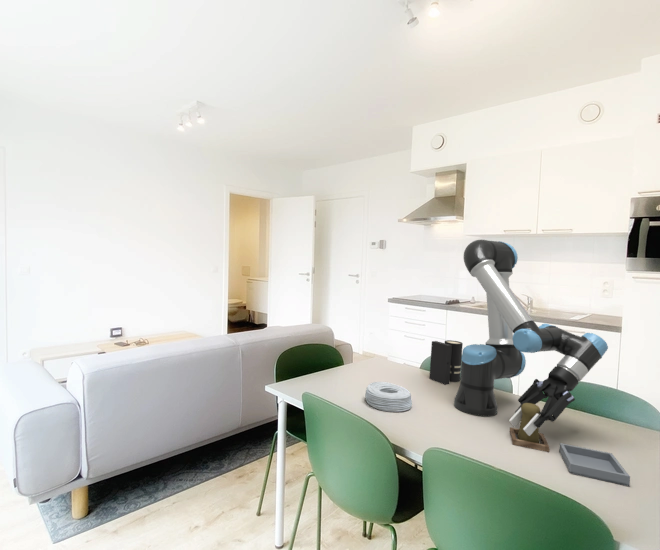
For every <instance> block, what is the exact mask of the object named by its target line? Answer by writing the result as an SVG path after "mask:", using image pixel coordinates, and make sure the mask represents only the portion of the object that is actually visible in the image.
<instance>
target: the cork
mask: <svg viewBox="0 0 660 550" xmlns="http://www.w3.org/2000/svg"><path fill="white" fill-rule="evenodd" d="M521 411H522V413H523V414H522V419H521V421H520V423H519V428H518V429H519V431H518V435H517V437H516V439H519V440H524V441H529V442H534V443H539V444H541V440H540V439H539V433H540V430H539V429H540V427H539V428H538V427H537V428H536V430H535V431H534V432H533V433H532V434H531V435H530V436H529V435H527V433H526V432H525V431H524V430H523V428H524V427H525V426H526V425H527V424H528V423H529V422H530V420H531V419H532V418H533V417H534V416H535V415H536V414H537V413H538V414H539V412H541V409H540V407H539V406H538V405H537V404H532V403H523V405H522V406H521ZM539 415H540V414H539Z"/></svg>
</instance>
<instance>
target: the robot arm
mask: <svg viewBox="0 0 660 550" xmlns="http://www.w3.org/2000/svg"><path fill="white" fill-rule="evenodd" d="M518 260H519V259H518V253H517V250H516V249H515V248H514V246H512V245H511V244H510V243H507V242H505V241H497V240H496V241H494V240H487V239H476V240H473V241H472V242H470V243H469V244H468V245H467V246H466V247H465V250H464V251H463V262H464V265H465V268H466V270H467V271H468V273H469V274H470V276H471V277H473V278H476V280H477V281H478V283H479V284H480V285H481V287H482V289H483V290H484V292H485V293H486V295H485V296H486V305H487V306H486V308H487V323H488V324H487V325H488V326H487V327H488V340H487V341H486V342H485V344H481V343H479V344H478V343H475V344H469V345H466V346H464V347H463V348H462V358H461V359H462V360H461V375H460V381H459V383H460V384H459V387H458V389H457V392H456V394H455V396H454V399H453V400H454V401H453V406H454V407H455V408H456V409H457V410H459V411H461V412H463V413H466V414H469V415H473V416H479V417H480V416H481V417H493V416H495V415H497V414H498V403H497V400H496V394H495V391H494V386H495V380H501V379H511V378H514V377H518V376H520V375H521V374H522V373H523V372H524V371H525V368H526V365H527V363H526V362H527V360H526V357H525V354H524V353H527V354H529V353H530V354H535V353H539V352H551V351H552V352H553V351H554V352H557V353H559V354H562V355H564V356H563V357H562V358H561V359H560V360H559V361H558V363H556V366H554V367H553V368H552V369H551V371H549V373H548V375H547V378H546V379H544V380H543V381H542V380H539V379H537V378H535V379H534V380H533V382H532V384H530V386H529V387H528V388H527V389H526V390H525V392H523V394H522V395H521V396H520V397H519V398H518V400H517V401H518V403H519V406H518V408H517V409H516V410H515V412H514V414H513V415H512V416H511V417H510V419H509V420H508V422H510V424H511V425H512V426H513V428H516V427H517V426H518V424H519V425H520V423H521V419H522V414H523V413H522V411H521V406H522V405H523V403H532V404H535V405H537V404H538V403H539V402H541V401H543V400H544V399H547V400H546V401H545V404H544V405H543V407H542V409H541V410H540V412H539V414H540V415H539V414H538V413H537V414H536V415H535V416H534V417H533V418H532V419H531V420H530V422H529V423H528V424H527V425H526V426H525V427H524V428H523V430H524V431H525V432H526V433H527V435H529V436H530V435H531V434H532V433H533V432H534V431H535V430H536V428H537V427H538V428H539V429H540V428H541V427H542V425H543V424H545V422H547V421H550V422H552V423H554V422H555V421H556V420H557V419H558V418H559V416H560V415H561V414H562V413H563V412H564V411H565V409H566V408H567V407H568V406H569V405H570V404H571V403H572V402H574V401H575V400H576V398H575V397H574V396H573V394H572V393H571V392H572V391H573V390H574V389H575V388H576V387H577V386H578V385H579V382H581V381H582V380H583V379H584V377H585V376H587V374H588V373H589V372H590V371H591V369H593V367H595V365H596V364H597V363H598V362H599V361H600V360H601V359H602V358H603V356H604V355H605V353H607V351H608V349H609V346H608V343H607V342H606V340H604V338H603V337H601V336H599V335H598V334H596V333H592V332H591V333H590V332H585V333H584V334H583V335H581V336H579V335H577V334H574V333H572V332H569V331H567V330H565V329H562V328H560V327H558V326H556V325H552V324H550V323H542V324H541V325H537V324H536V322H535V321H534V319H533V318H532V317H531V316H530V314H529V313H528V311H527V309H526V308H525V307H524V306H523V304H522V303H521V301H520V300H519V299H518V297H517V296H516V295H515V293H514V292H513V290H512V289H511V287H510V279H509V278H510V277H511V276H512V275H513V269H514V268H515V267H516V266H515V265H517V263H518Z"/></svg>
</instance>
